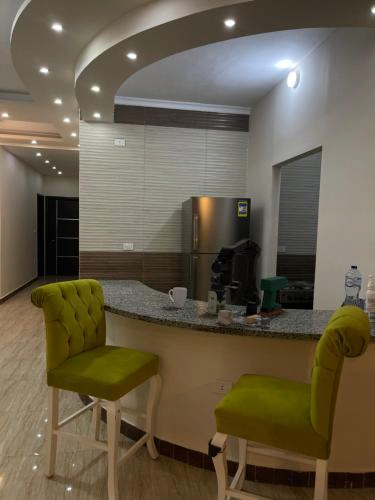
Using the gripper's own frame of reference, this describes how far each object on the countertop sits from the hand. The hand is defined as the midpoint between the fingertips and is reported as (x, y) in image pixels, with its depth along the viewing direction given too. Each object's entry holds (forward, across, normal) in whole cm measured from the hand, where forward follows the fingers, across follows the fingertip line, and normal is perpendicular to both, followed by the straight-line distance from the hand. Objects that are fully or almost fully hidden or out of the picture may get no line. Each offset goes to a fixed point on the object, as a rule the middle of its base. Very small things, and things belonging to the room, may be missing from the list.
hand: (226, 302), depth 187 cm
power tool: (+11, -49, -1) cm, 50 cm away
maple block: (+11, 0, 0) cm, 11 cm away
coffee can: (+11, -14, -18) cm, 25 cm away
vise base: (+10, -10, +4) cm, 15 cm away
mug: (+11, -6, -43) cm, 45 cm away
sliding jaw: (+9, -10, +14) cm, 19 cm away
